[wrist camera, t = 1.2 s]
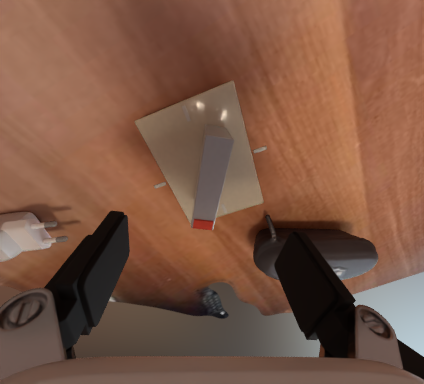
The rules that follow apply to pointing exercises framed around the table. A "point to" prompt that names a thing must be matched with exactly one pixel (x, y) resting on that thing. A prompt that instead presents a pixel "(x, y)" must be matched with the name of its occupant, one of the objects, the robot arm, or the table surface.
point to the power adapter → (24, 234)
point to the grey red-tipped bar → (211, 175)
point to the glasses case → (325, 243)
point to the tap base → (191, 147)
